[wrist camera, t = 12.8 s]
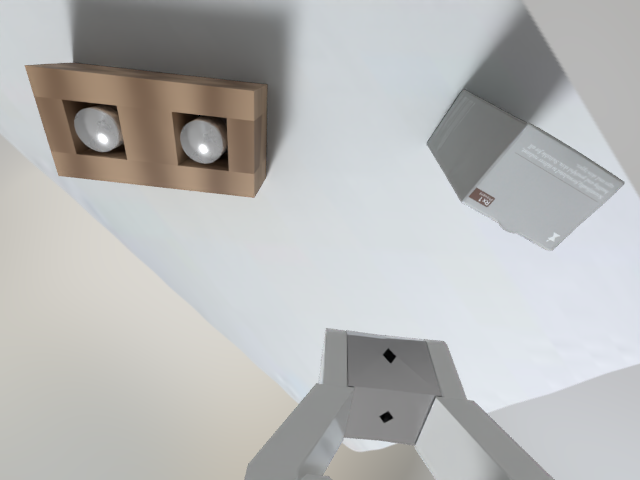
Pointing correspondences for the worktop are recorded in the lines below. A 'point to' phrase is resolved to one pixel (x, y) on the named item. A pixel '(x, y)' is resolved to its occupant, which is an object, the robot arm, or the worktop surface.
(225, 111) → the walnut block
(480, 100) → the skincare box
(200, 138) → the steel peg
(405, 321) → the worktop surface
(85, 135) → the steel peg
